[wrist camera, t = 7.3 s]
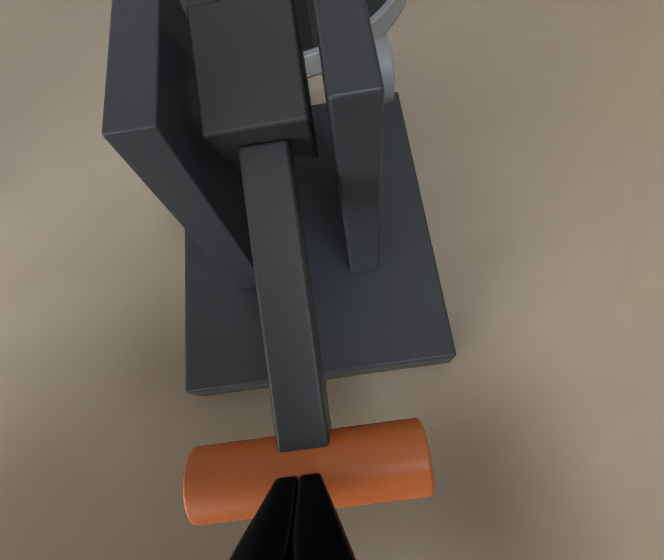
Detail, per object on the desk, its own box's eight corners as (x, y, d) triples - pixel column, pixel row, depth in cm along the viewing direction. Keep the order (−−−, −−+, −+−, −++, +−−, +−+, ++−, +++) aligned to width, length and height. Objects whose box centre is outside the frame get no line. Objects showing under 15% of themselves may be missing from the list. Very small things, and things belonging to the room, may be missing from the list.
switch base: (450, 362, 15) (564, 246, 6) (199, 396, 16) (-44, 334, 7) (396, 112, 19) (417, -186, 10) (195, 144, 20) (40, -116, 10)
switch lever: (423, 472, 10) (443, 520, 8) (217, 497, 11) (177, 552, 8) (358, 45, 11) (359, -26, 9) (167, 77, 11) (117, 15, 9)
